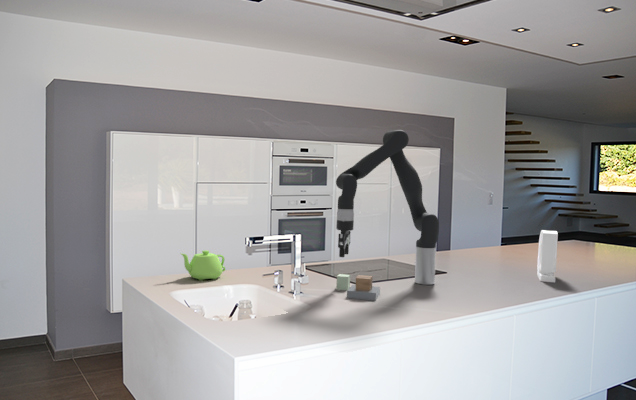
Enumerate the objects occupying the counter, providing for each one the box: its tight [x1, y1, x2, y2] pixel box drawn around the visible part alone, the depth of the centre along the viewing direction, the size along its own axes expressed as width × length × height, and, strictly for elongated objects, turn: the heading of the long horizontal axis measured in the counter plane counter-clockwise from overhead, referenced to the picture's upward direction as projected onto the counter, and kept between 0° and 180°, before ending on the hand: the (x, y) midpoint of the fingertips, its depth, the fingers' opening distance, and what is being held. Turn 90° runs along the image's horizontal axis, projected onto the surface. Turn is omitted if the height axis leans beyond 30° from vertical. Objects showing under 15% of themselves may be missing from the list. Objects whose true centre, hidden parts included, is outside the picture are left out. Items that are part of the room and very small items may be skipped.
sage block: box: [335, 273, 351, 291], centre depth 233 cm, size 5×5×6 cm
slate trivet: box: [346, 284, 381, 301], centre depth 221 cm, size 12×12×3 cm
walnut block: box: [355, 274, 373, 291], centre depth 220 cm, size 6×6×5 cm
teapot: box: [180, 249, 226, 281], centre depth 247 cm, size 22×15×13 cm
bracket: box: [536, 229, 559, 283], centre depth 268 cm, size 7×21×25 cm, turn 162°
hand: (343, 255), depth 232 cm, fingers open, 8 cm apart
